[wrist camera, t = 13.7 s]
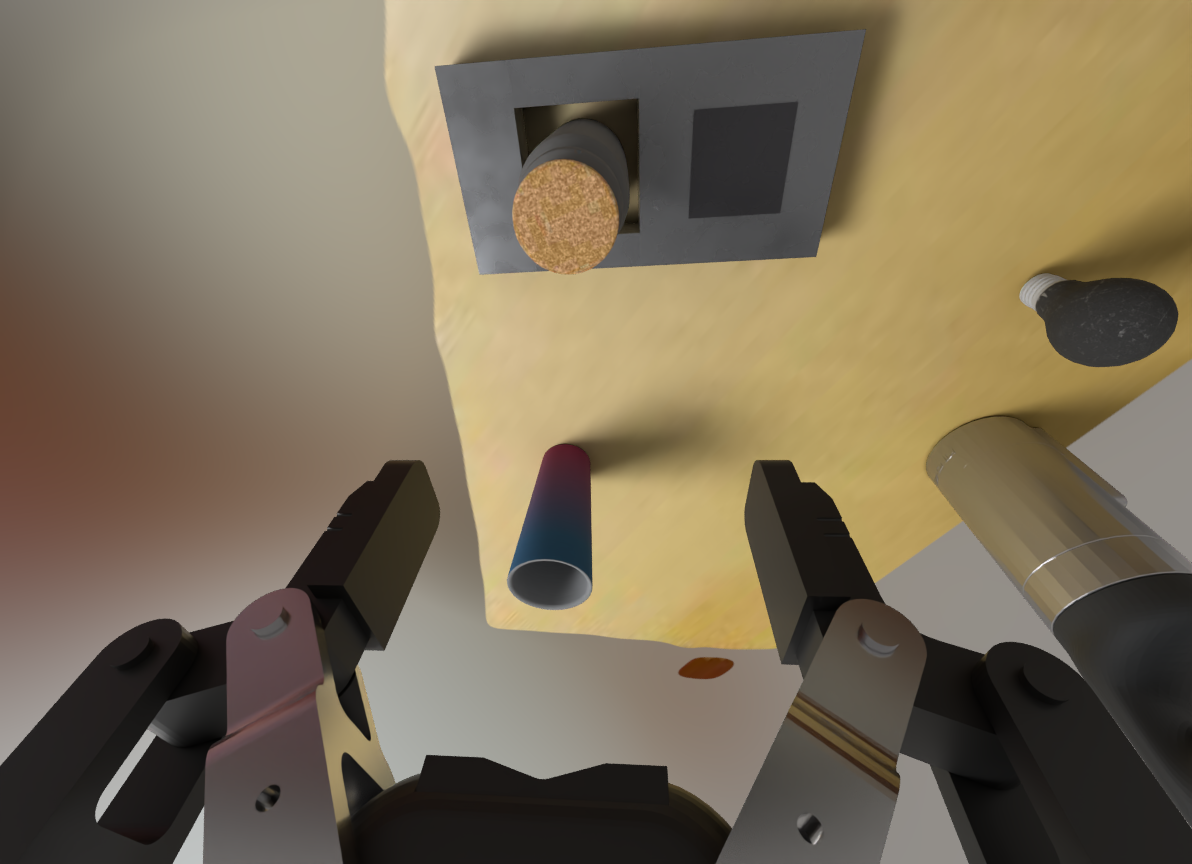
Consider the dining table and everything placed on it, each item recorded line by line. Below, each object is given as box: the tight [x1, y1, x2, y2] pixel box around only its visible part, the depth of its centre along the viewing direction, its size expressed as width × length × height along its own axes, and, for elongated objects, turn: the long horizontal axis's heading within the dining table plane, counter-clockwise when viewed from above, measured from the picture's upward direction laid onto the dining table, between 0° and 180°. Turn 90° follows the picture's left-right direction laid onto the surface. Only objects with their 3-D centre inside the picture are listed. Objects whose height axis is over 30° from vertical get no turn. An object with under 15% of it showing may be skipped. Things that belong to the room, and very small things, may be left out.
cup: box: [507, 444, 592, 610], centre depth 43 cm, size 7×7×15 cm
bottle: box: [512, 119, 630, 274], centre depth 26 cm, size 6×6×15 cm
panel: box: [435, 29, 866, 274], centre depth 30 cm, size 24×12×3 cm, turn 94°
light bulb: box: [1020, 273, 1178, 367], centre depth 32 cm, size 6×6×10 cm
